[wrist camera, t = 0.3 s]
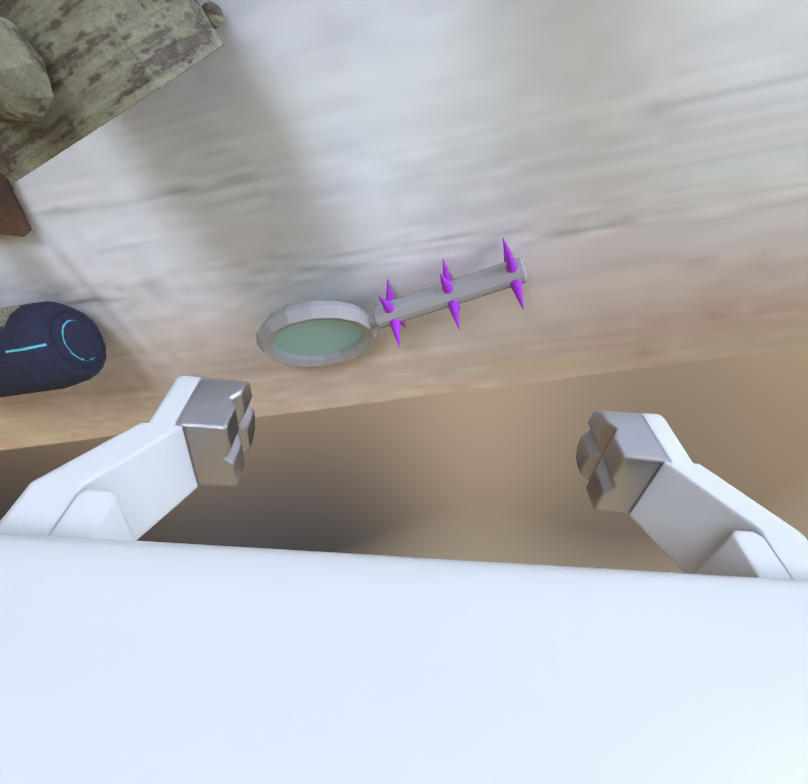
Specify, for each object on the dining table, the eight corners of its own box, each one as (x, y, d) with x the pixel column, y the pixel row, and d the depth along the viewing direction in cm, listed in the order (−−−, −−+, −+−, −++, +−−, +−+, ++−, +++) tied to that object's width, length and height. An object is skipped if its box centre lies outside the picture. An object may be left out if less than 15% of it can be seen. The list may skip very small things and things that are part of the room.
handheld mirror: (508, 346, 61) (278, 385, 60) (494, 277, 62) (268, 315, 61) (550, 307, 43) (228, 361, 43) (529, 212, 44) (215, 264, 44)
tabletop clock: (116, 113, 41) (-99, 257, 24) (19, -9, 36) (-362, 61, 18) (249, 27, 37) (107, 124, 19) (163, -129, 31) (-153, -193, 14)
